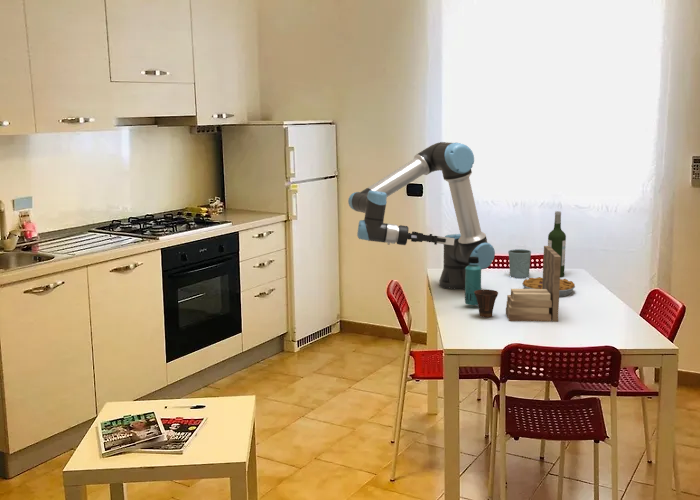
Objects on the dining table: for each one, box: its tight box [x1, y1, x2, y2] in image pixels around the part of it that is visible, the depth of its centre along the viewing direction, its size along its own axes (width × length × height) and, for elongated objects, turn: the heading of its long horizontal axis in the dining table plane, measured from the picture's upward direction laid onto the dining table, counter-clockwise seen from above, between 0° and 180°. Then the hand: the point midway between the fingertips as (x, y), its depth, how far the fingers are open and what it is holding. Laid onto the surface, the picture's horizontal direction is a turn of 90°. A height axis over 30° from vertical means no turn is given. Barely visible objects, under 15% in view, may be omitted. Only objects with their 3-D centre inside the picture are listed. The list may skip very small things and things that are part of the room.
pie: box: [521, 276, 576, 298], centre depth 316 cm, size 22×22×5 cm
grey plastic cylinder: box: [508, 248, 532, 279], centre depth 345 cm, size 10×10×12 cm
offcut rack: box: [505, 245, 561, 322], centre depth 281 cm, size 22×18×24 cm
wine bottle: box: [547, 210, 567, 278], centre depth 344 cm, size 8×8×30 cm
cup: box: [474, 288, 499, 318], centre depth 279 cm, size 9×9×10 cm
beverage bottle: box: [464, 257, 482, 306], centre depth 291 cm, size 6×7×20 cm
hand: (451, 241), depth 291 cm, fingers open, 13 cm apart
